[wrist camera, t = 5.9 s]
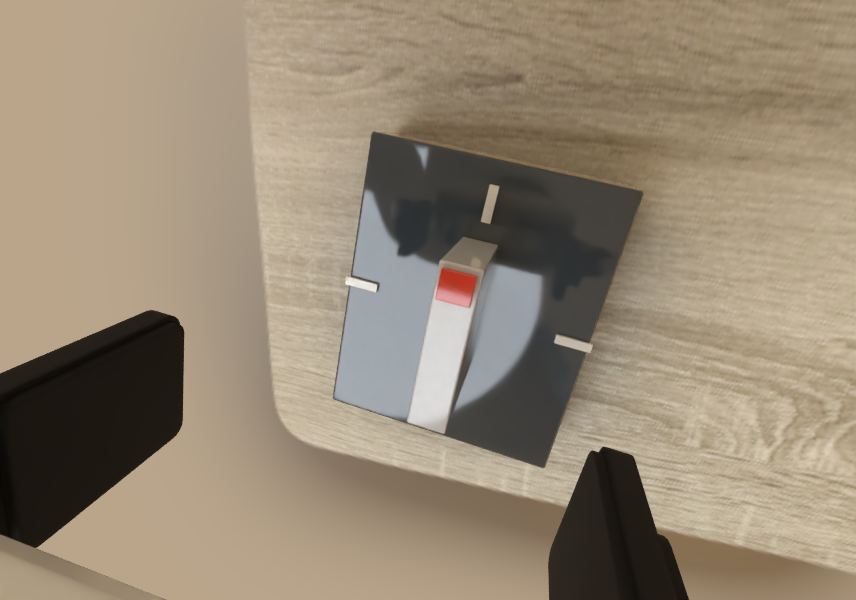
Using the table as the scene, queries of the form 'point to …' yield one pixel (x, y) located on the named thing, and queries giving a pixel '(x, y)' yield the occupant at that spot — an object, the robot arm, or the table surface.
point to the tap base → (507, 291)
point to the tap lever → (450, 332)
